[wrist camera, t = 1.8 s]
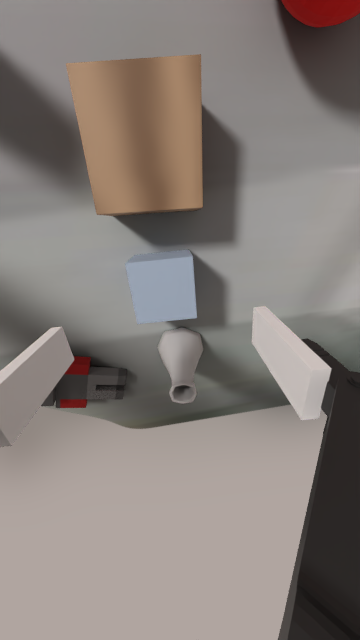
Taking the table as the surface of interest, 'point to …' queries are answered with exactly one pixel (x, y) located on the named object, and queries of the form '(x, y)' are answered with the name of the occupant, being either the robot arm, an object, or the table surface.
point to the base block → (141, 132)
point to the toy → (86, 384)
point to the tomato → (322, 11)
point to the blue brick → (162, 286)
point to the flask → (181, 361)
